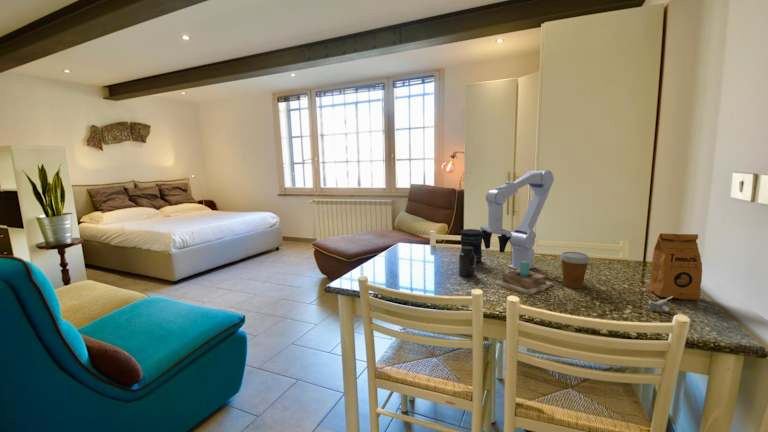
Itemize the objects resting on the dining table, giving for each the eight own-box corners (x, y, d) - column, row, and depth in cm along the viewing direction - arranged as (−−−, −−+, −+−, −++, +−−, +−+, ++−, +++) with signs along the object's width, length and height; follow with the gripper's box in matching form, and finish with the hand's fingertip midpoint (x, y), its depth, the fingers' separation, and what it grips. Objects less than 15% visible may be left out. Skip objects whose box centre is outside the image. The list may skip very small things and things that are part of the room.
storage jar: (484, 264, 156) (485, 233, 154) (462, 265, 156) (463, 233, 154) (478, 258, 166) (479, 228, 164) (458, 259, 166) (458, 229, 164)
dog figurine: (652, 315, 108) (640, 301, 108) (677, 302, 105) (665, 287, 106) (657, 320, 105) (645, 305, 105) (683, 306, 102) (671, 291, 103)
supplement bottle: (475, 277, 139) (476, 249, 137) (458, 277, 141) (459, 249, 139) (474, 272, 146) (475, 245, 144) (458, 271, 147) (458, 245, 145)
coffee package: (703, 304, 110) (712, 237, 106) (657, 299, 114) (664, 235, 110) (688, 292, 119) (695, 231, 115) (645, 289, 123) (651, 229, 119)
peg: (522, 280, 132) (523, 260, 131) (530, 282, 130) (531, 262, 128) (517, 282, 131) (518, 261, 129) (525, 284, 128) (526, 263, 127)
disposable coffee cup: (576, 292, 122) (579, 259, 120) (553, 283, 130) (554, 253, 129) (593, 286, 126) (595, 255, 124) (569, 279, 135) (570, 250, 133)
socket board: (521, 275, 140) (521, 266, 140) (553, 285, 129) (554, 275, 128) (495, 283, 132) (495, 274, 131) (527, 295, 120) (527, 284, 120)
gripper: (475, 217, 145) (474, 248, 147) (503, 222, 133) (502, 255, 135) (486, 215, 149) (486, 245, 151) (515, 220, 137) (513, 252, 139)
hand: (494, 250), depth 143 cm, fingers open, 7 cm apart
